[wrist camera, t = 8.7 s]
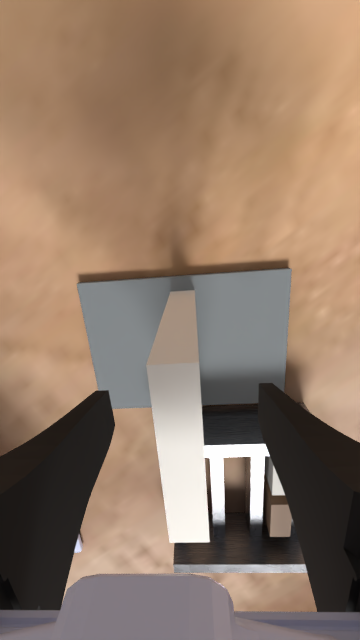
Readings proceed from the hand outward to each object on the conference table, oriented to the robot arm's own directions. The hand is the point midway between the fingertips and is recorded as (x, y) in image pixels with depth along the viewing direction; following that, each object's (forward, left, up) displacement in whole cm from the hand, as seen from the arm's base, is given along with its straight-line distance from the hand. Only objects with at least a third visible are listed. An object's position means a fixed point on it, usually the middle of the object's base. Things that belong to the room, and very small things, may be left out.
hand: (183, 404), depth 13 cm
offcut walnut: (+7, -14, -7) cm, 17 cm away
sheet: (0, 0, -7) cm, 7 cm away
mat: (0, 0, -7) cm, 7 cm away
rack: (+3, -12, -7) cm, 14 cm away
